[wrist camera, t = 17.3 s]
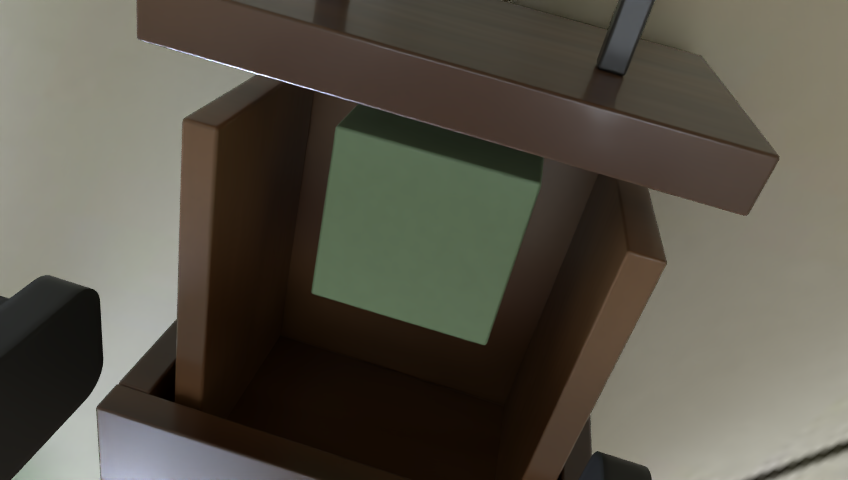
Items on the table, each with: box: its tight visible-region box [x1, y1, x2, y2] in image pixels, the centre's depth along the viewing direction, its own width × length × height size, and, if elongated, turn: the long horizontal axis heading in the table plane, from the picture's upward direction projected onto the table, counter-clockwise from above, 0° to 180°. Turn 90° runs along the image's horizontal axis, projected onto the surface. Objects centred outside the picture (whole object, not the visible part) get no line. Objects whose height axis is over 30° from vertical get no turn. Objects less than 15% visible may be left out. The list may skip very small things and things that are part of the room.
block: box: [311, 104, 544, 345], centre depth 17 cm, size 5×5×5 cm
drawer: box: [137, 0, 779, 480], centre depth 16 cm, size 18×12×7 cm, turn 167°
